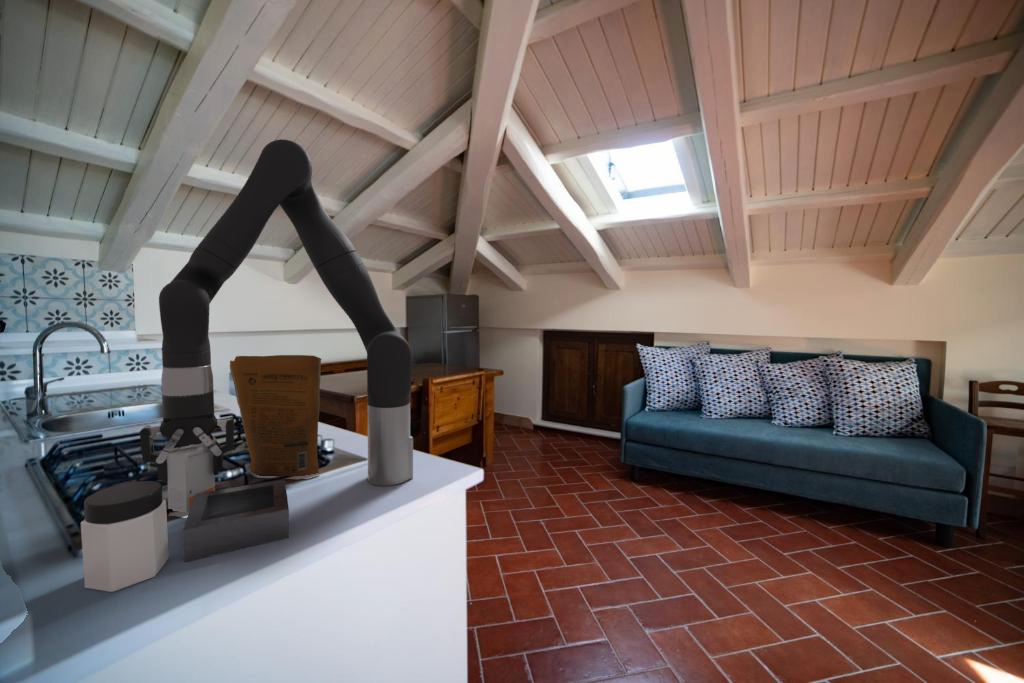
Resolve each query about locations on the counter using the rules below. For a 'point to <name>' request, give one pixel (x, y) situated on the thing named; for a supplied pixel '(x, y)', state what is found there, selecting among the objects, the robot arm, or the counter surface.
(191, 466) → the skincare box
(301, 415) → the pancake mix bag
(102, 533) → the jar
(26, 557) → the counter surface
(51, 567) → the counter surface
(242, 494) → the socket block
